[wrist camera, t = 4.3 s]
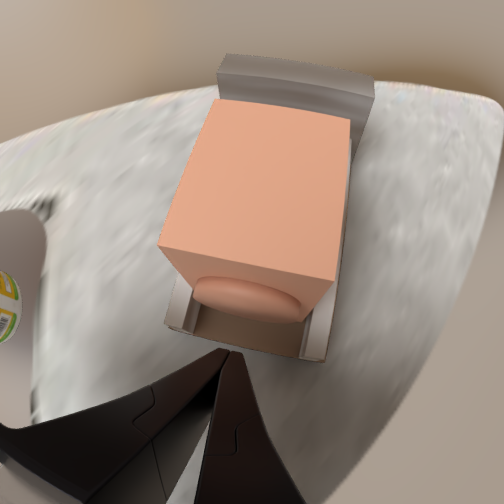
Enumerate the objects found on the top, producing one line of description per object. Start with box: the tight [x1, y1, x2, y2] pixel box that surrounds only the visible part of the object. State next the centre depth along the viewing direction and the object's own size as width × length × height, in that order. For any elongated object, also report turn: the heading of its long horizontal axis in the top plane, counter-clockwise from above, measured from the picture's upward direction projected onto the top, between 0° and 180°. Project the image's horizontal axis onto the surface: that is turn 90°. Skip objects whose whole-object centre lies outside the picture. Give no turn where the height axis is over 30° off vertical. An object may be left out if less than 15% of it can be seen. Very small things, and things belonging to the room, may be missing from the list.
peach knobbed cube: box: [157, 99, 350, 323], centre depth 13 cm, size 7×5×8 cm
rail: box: [164, 54, 375, 363], centre depth 16 cm, size 14×8×7 cm, turn 167°
